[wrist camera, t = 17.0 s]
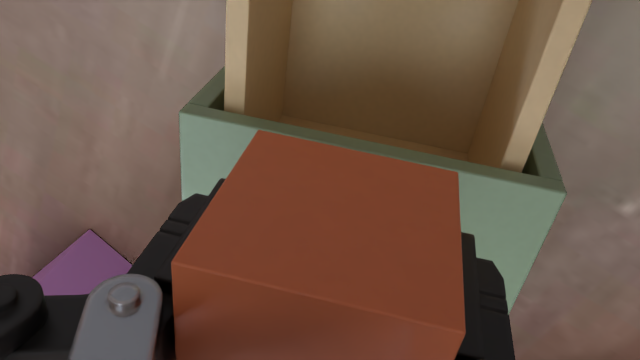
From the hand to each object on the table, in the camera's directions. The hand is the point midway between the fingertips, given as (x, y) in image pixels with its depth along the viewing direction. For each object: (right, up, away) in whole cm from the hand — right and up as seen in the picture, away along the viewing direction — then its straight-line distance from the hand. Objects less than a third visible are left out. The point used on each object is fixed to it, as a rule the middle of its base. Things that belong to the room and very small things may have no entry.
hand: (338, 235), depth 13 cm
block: (0, 0, 0) cm, 0 cm away
